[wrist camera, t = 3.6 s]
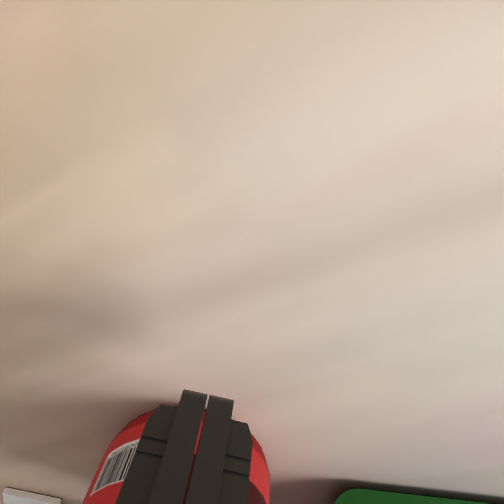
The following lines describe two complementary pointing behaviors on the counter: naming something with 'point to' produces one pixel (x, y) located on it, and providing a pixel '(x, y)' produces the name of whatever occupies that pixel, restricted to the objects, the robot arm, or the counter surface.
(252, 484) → the canned food
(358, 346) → the counter surface
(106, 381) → the counter surface
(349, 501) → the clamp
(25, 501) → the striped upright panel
